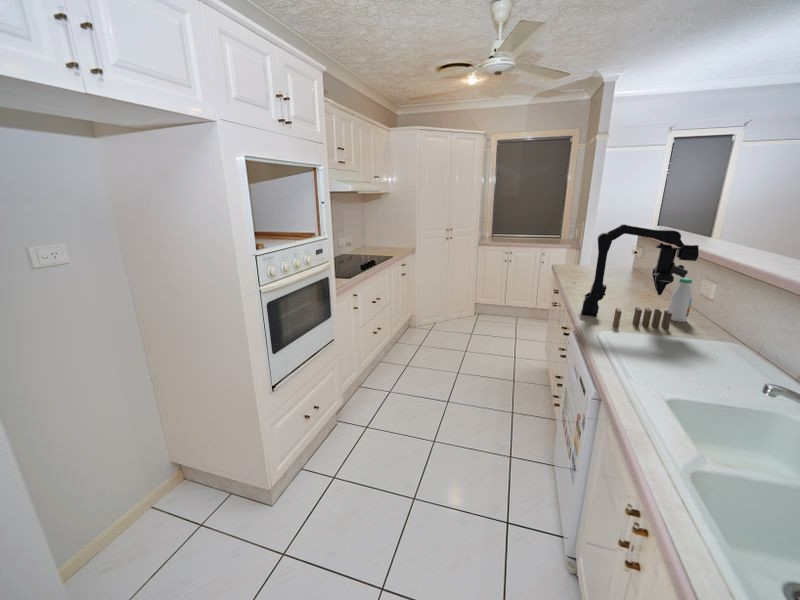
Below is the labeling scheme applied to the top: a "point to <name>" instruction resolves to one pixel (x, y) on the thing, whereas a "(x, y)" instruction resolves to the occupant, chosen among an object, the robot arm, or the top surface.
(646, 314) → the domino
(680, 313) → the milk bottle
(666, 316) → the domino
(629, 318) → the top surface
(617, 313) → the domino
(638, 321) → the domino
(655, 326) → the domino
